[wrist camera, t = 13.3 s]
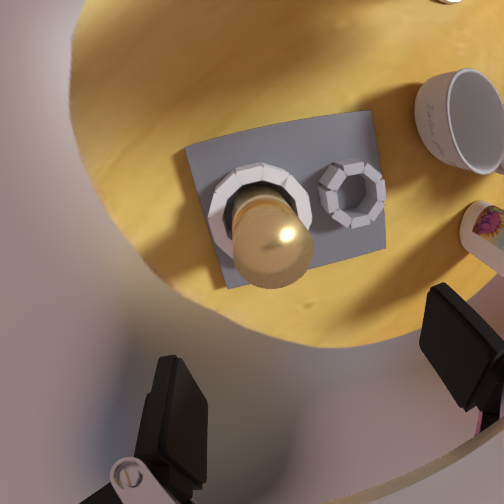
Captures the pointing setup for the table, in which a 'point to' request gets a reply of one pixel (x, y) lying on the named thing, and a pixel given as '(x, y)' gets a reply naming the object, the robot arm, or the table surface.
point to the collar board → (306, 169)
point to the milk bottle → (484, 234)
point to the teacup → (462, 121)
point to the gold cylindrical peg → (268, 238)
